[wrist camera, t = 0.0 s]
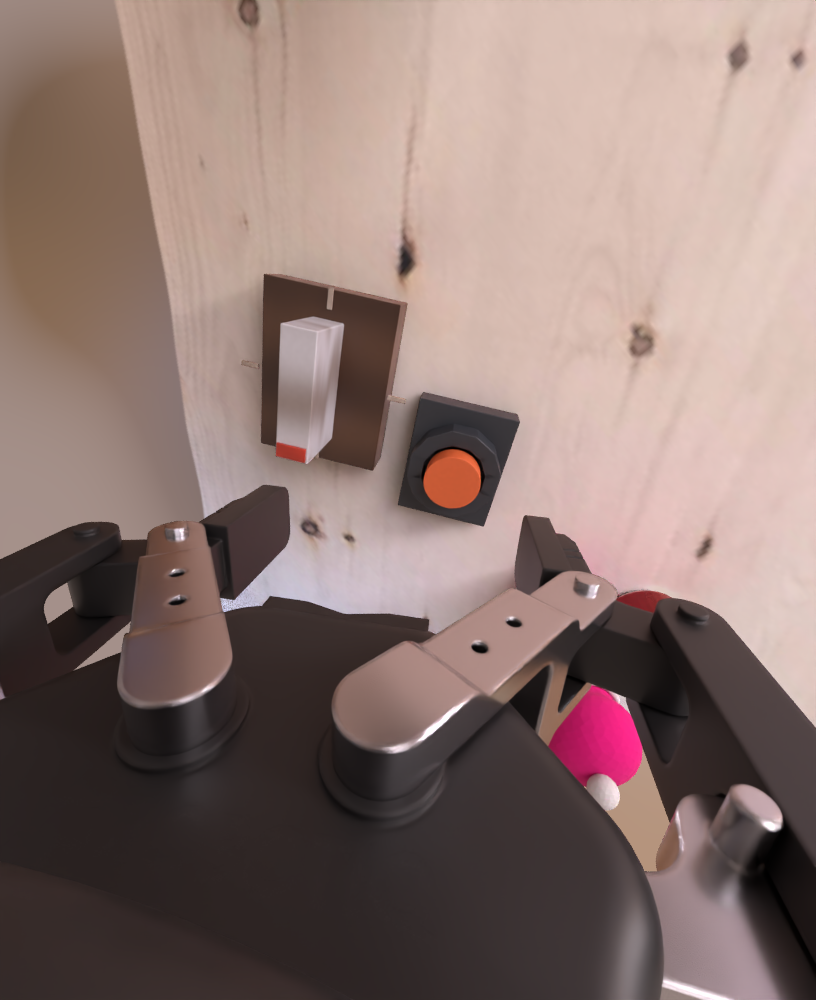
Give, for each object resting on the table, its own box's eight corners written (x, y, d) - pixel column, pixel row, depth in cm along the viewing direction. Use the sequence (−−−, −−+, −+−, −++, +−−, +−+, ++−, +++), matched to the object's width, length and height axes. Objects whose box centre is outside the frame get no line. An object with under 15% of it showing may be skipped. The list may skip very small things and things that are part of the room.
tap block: (261, 268, 31) (240, 266, 29) (428, 306, 31) (423, 308, 28) (259, 429, 38) (242, 440, 35) (397, 462, 37) (390, 477, 34)
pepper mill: (546, 621, 43) (590, 851, 26) (501, 578, 41) (514, 793, 24) (607, 587, 40) (705, 824, 22) (561, 539, 38) (626, 755, 21)
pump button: (432, 442, 32) (429, 450, 30) (487, 456, 32) (487, 465, 30) (420, 491, 34) (418, 501, 33) (472, 504, 34) (471, 514, 32)
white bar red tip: (312, 316, 30) (278, 323, 24) (344, 323, 29) (316, 332, 24) (304, 432, 34) (273, 458, 29) (332, 439, 34) (306, 466, 29)
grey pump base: (423, 391, 34) (416, 404, 30) (518, 414, 33) (522, 429, 30) (401, 495, 39) (393, 516, 35) (483, 515, 38) (483, 539, 35)
